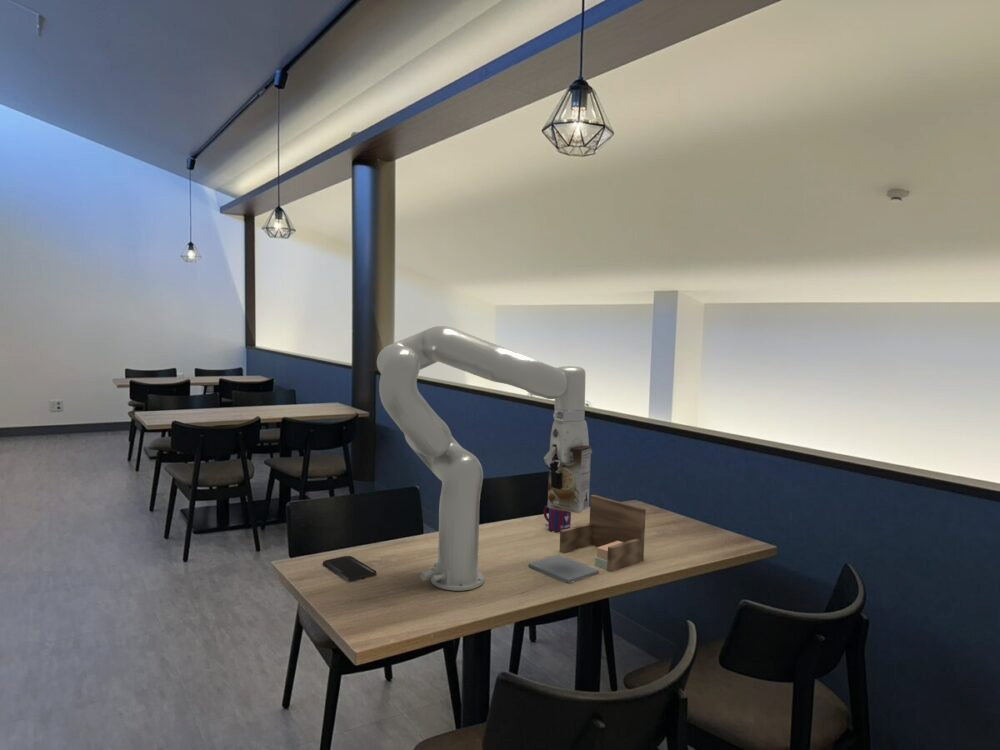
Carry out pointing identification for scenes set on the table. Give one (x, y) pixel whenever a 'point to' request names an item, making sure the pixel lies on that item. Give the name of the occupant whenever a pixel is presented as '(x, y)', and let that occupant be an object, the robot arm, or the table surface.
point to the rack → (610, 532)
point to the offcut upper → (605, 550)
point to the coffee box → (572, 482)
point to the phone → (349, 568)
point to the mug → (557, 519)
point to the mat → (563, 568)
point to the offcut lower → (600, 562)
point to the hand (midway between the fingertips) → (567, 485)
